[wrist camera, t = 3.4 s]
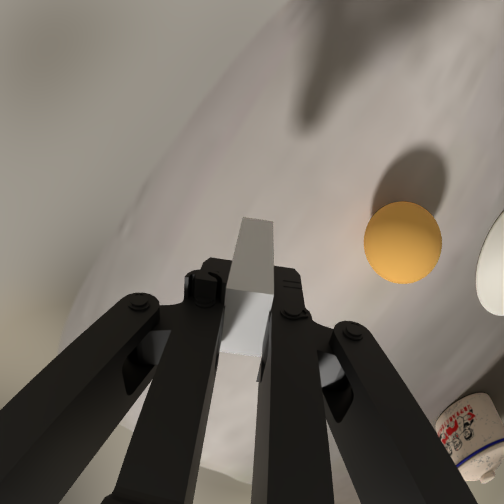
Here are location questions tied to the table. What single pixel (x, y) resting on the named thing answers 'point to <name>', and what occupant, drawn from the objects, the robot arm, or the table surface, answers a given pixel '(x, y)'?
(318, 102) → the table surface
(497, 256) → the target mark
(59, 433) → the robot arm
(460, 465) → the teacup with lid
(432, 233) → the ball
